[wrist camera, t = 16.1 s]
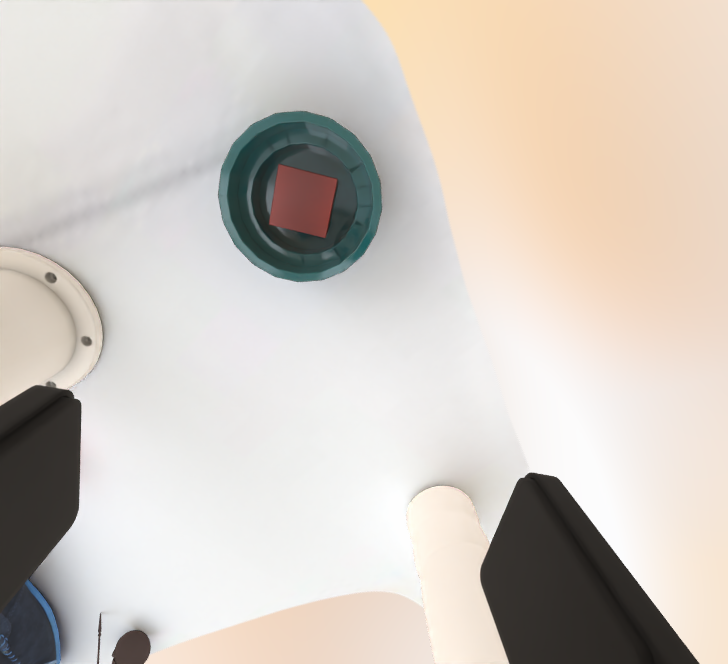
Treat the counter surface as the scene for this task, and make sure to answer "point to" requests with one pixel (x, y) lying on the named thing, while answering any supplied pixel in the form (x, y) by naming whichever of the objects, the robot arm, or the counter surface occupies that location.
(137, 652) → the figurine
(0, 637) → the boat shoe
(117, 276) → the counter surface
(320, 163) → the teal round tub
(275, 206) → the red block
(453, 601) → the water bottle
